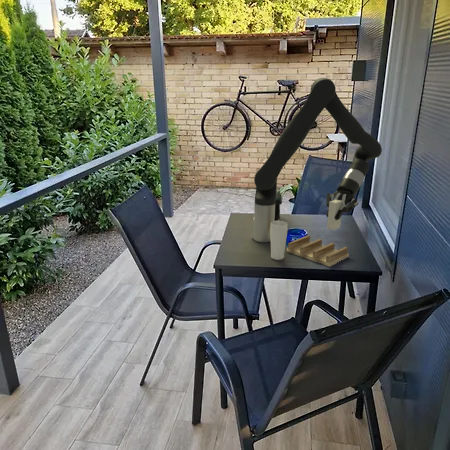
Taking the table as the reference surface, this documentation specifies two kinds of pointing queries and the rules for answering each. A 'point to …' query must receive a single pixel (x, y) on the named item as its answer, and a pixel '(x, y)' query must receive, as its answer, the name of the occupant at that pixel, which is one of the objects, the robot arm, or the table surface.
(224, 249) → the table surface
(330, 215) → the cream rectangular block
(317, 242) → the ridged wooden tray
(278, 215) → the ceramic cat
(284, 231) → the drinking glass
